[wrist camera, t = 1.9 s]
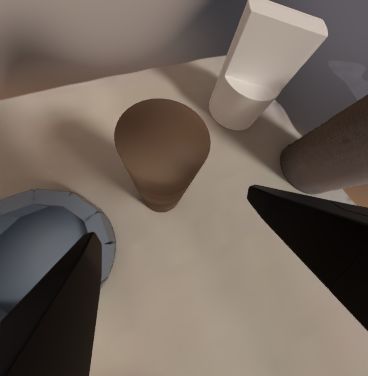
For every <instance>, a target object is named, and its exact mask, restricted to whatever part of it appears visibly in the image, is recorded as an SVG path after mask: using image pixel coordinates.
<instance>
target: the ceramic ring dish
mask: <svg viewBox="0 0 368 376" xmlns="http://www.w3.org/2000/svg"><path fill="white" fill-rule="evenodd" d="M89 232H95V233H96V235H97V236H98V238H99V240H100V241H101V244H102V278H101V287H100V289H101V288H102V286H103V285H104V283H105V281H106V280H107V279H108V276H109V274H110V271H111V268H112V266H113V262H114V258H115V250H116V241H115V234H114V230H113V227H112V225H111V223H110V221H109V219H108V218H107V216H106V214H104V212H103V211H102V210H101V209H99V208H98V207H97V206H95V205H94V204H92V203H91V202H89V201H87V200H86V199H84V198H83V197H81V196H79V195H76V194H74V193H71V192H65V191H54V190H43V189H35V190H33V189H32V190H29V191H26V192H23V193H20V194H17V195H14V196H11V197H8V198H5V199H2V200H0V322H1V320H2V319H3V318H4V317H5V316H6V315H7V314H8V313H9V312H10V311H11V310H12V309H13V308H14V307H15V306H16V305H17V304H18V303H19V302H20V301H21V299H22V298H23V297H24V296H25V295H26V294H27V293H28V292H29V291H30V290H31V289H32V288H33V287H34V286H35V285H36V284H37V283H38V282H39V281H40V280H41V279H42V278H43V276H44V275H45V274H46V273H47V272H48V271H49V270H50V269H51V268H52V267H53V266H54V265H55V264H56V263H57V262H58V261H59V260H60V259H61V258H62V257H63V256H64V254H65V253H66V252H67V251H68V250H69V249H70V248H71V247H72V246H73V245H74V244H75V243H76V242H77V241H78V240H79V239H80V238H81V237H82V236H83V235H84V234H86V233H89Z"/></svg>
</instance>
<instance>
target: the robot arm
mask: <svg viewBox="0 0 368 376" xmlns="http://www.w3.org/2000/svg"><path fill="white" fill-rule="evenodd" d="M247 199H248V201H249V202H250V204H251V205H252V206H253V208H254V209H255V210H256V211H257V213H258V214H259V215H260V216H261V218H262V219H263V220H264V221H265V222H266V223H267V224H268V225H269V227H270V228H271V229H272V230H273V231H274V232H275V233H276V234H277V235H278V236H279V237H280V238H281V239H282V240H283V241H284V242H285V244H286V245H287V246H288V247H289V248H290V249H291V250H292V251H293V252H294V253H295V254H296V255H297V256H298V257H299V258H300V259H301V261H302V262H303V263H304V264H305V265H306V266H307V267H308V268H309V269H310V270H311V271H312V272H313V273H314V274H315V275H316V276H317V277H318V279H319V280H320V281H321V282H322V283H323V284H324V285H325V286H326V287H327V288H328V289H329V290H330V291H331V293H332V294H333V295H334V296H335V297H336V298H337V299H338V300H339V301H340V302H341V303H342V304H343V305H344V306H345V307H346V308H347V310H348V311H349V312H350V313H351V314H352V315H353V316H354V317H355V318H356V319H357V320H358V321H359V322H360V323H361V324H362V326H363V327H364V328H365V329H366V330H367V331H368V208H366V207H361V206H356V205H350V204H345V203H340V202H336V201H331V200H326V199H321V198H317V197H312V196H307V195H302V194H298V193H293V192H288V191H283V190H279V189H274V188H269V187H264V186H259V185H253V186H250V187H249V189H248V195H247ZM101 278H102V244H101V241H100V240H99V238H98V236H97V235H96V233H95V232H89V233H86V234H84V235H83V236H82V237H81V238H80V239H79V240H78V241H77V242H76V243H75V244H74V245H73V246H72V247H71V248H70V249H69V250H68V251H67V252H66V253H65V254H64V256H63V257H62V258H61V259H60V260H59V261H58V262H57V263H56V264H55V265H54V266H53V267H52V268H51V269H50V270H49V271H48V272H47V273H46V274H45V275H44V276H43V278H42V279H41V280H40V281H39V282H38V283H37V284H36V285H35V286H34V287H33V288H32V289H31V290H30V291H29V292H28V293H27V294H26V295H25V296H24V297H23V298H22V299H21V301H20V302H19V303H18V304H17V305H16V306H15V307H14V308H13V309H12V310H11V311H10V312H9V313H8V314H7V315H6V316H5V317H4V318H3V319H2V320H1V322H0V376H89V372H90V364H91V357H92V349H93V341H94V333H95V326H96V318H97V310H98V302H99V295H100V287H101Z"/></svg>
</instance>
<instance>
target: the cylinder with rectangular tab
mask: <svg viewBox="0 0 368 376" xmlns="http://www.w3.org/2000/svg"><path fill="white" fill-rule="evenodd" d="M327 36H328V32H327V28H326V25H325V23H324V21H323V20H322V19H319V18H316V17H313V16H311V15H308V14H305V13H302V12H300V11H297V10H294V9H291V8H288V7H285V6H283V5H280V4H277V3H274V2H271V1H269V0H248V2H247V5H246V7H245V10H244V12H243V15H242V17H241V20H240V23H239V25H238V28H237V30H236V33H235V36H234V38H233V41H232V44H231V46H230V49H229V51H228V54H227V56H226V59H225V61H224V64H223V67H222V69H221V72H220V74H219V77H218V80H217V82H216V85H215V87H214V90H213V93H212V95H211V98H210V101H209V110H210V113H211V115H212V116H213V118H214V119H215V120H216V121H217V122H218V123H219V124H220V125H222V126H224V127H225V128H228V129H231V130H237V131H239V130H245V129H247V128H249V127H250V126H251V125H252V124H253V123H254V122H255V121H256V120H257V119H258V117H259V116H260V115H261V114H262V113H263V112H264V111H265V109H266V108H267V107H268V106H269V105H270V104H271V103H272V102H273V100H274V99H275V98H276V97H277V96H278V95H279V93H280V91H281V90H282V88H283V87H284V86H285V85H286V84H287V82H289V80H290V79H291V78H292V77H293V76H294V75H295V73H296V72H297V71H298V70H299V69H300V68H301V66H302V65H303V64H304V63H305V62H306V61H307V60H308V58H309V57H310V56H311V55H312V54H313V53H314V51H315V50H316V49H317V48H318V47H319V46H320V44H321V43H322V42H323V41H324V40H325V39H326V38H327Z"/></svg>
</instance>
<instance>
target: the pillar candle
mask: <svg viewBox="0 0 368 376" xmlns="http://www.w3.org/2000/svg"><path fill="white" fill-rule="evenodd" d="M280 161H281V168H282V171H283V173H284V175H285V177H286V178H287V180H288V181H289V182H290V183H291V184H292V185H293V186H294V187H295V188H296V189H298V190H300V191H302V192H304V193H307V194H319V193H323V192H327V191H332V190H338V189H342V188H347V187H351V186H356V185H360V184H365V183H368V95H366V96H365V97H363V98H362V99H360V100H359V101H357V102H356V103H354V104H352V105H351V106H349V107H348V108H346V109H345V110H343V111H341V112H340V113H338V114H336V115H335V116H333V117H332V118H330V119H329V120H328V121H327V122H325V123H323V124H321V125H320V126H319V127H317V128H315V129H314V130H312V131H310V132H309V133H307V134H306V135H304V136H303V137H301V138H300V139H298V140H297V141H295V142H293V143H292V144H290V145H288V146H287V147H286V148H285V149H284V150H283V152H282V154H281V160H280Z"/></svg>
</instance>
